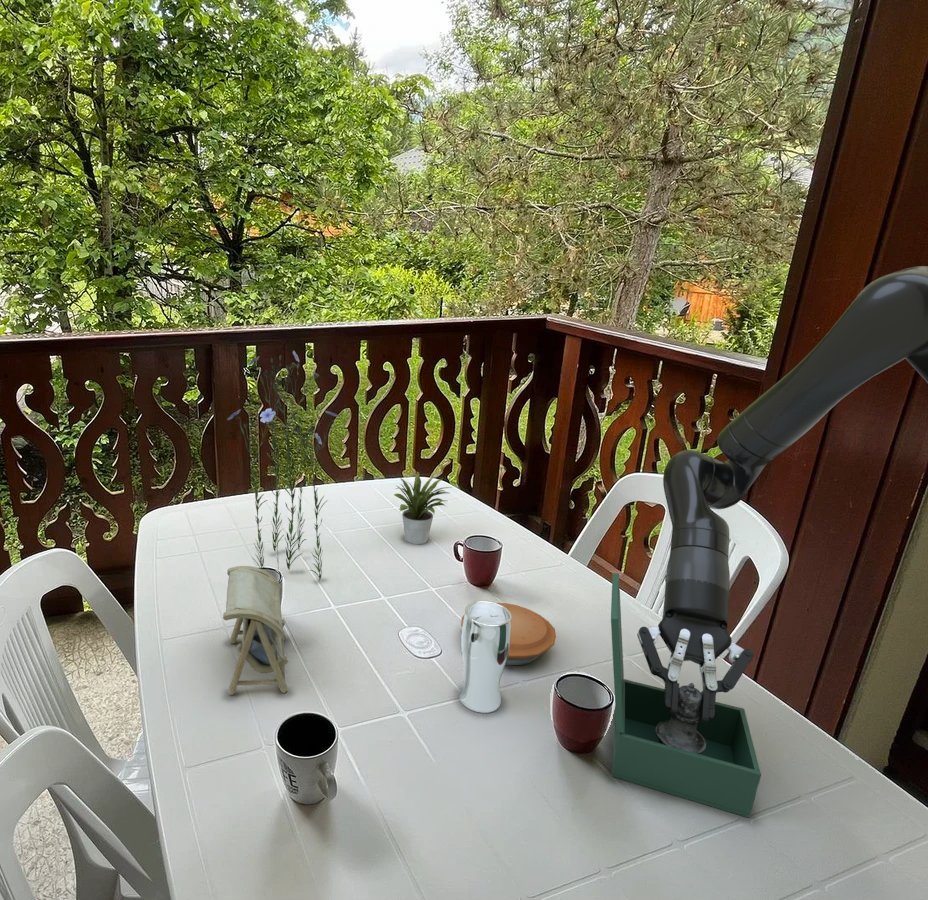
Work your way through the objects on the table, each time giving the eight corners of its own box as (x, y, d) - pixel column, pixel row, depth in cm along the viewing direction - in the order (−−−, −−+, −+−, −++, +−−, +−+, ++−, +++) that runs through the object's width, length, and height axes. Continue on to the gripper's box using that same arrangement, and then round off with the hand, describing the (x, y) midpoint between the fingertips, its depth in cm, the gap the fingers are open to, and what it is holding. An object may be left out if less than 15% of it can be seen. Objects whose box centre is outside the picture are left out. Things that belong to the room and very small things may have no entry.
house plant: (422, 562, 137) (426, 492, 132) (372, 542, 146) (374, 475, 141) (457, 540, 147) (462, 474, 142) (409, 523, 156) (412, 460, 151)
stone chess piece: (641, 748, 86) (655, 673, 82) (673, 737, 88) (689, 663, 84) (677, 781, 81) (695, 703, 77) (711, 768, 83) (730, 691, 79)
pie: (466, 613, 118) (468, 589, 117) (553, 629, 113) (557, 605, 112) (453, 662, 104) (455, 636, 103) (552, 683, 100) (556, 656, 98)
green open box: (734, 748, 87) (744, 708, 85) (749, 818, 76) (761, 774, 74) (613, 715, 93) (620, 678, 91) (612, 776, 82) (619, 735, 80)
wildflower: (327, 601, 122) (329, 369, 108) (216, 586, 127) (204, 362, 113) (351, 549, 143) (355, 349, 129) (254, 538, 148) (248, 344, 134)
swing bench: (289, 694, 97) (287, 609, 92) (225, 698, 96) (221, 612, 91) (285, 637, 111) (284, 561, 106) (230, 640, 110) (226, 563, 105)
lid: (618, 573, 87) (612, 572, 87) (618, 618, 76) (610, 618, 76) (623, 675, 90) (617, 674, 91) (623, 732, 80) (616, 731, 80)
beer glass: (447, 698, 96) (453, 611, 92) (474, 678, 101) (482, 594, 96) (485, 722, 91) (495, 632, 87) (512, 700, 96) (522, 613, 91)
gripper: (643, 567, 86) (630, 697, 80) (765, 589, 81) (762, 731, 74) (636, 584, 93) (624, 706, 86) (749, 605, 87) (745, 737, 80)
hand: (688, 717), depth 80 cm, fingers closed on stone chess piece, 3 cm apart
